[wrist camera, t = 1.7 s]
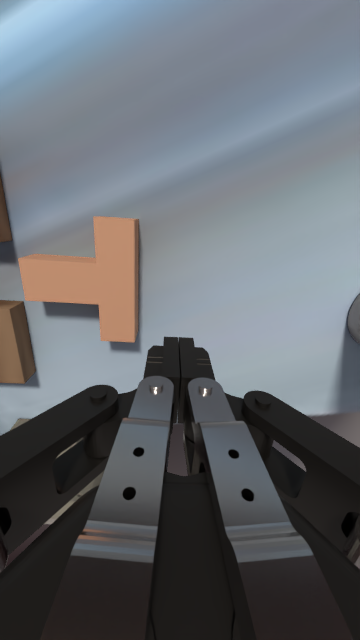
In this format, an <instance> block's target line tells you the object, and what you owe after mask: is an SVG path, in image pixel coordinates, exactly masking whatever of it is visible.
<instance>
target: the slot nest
mask: <svg viewBox="0 0 360 640" xmlns="http://www.w3.org/2000/svg"><path fill="white" fill-rule="evenodd" d="M11 240H12V236H11V230H10V225H9V219H8V214H7V208H6V203H5V197H4V192H3V186H2V181H1V175H0V242H5V241H11ZM35 371H36V369H35V363H34V358H33V352H32V347H31V341H30V336H29V330H28V325H27V319H26V314H25V308H24V302H23V301H6V300H0V383H23V384H25V383H26V381H27V380H28V379H29V378H30V377H31V376H32V375H33V374H34V373H35Z"/></svg>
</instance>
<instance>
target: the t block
mask: <svg viewBox="0 0 360 640" xmlns="http://www.w3.org/2000/svg"><path fill="white" fill-rule="evenodd" d="M93 218H94V235H95V252H96V258H90V257H74V256H59V255H43V254H33V255H29V256H26V257H22V258H18V260H19V266H20V272H21V277H22V283H23V289H24V294H25V300H27V301H45V302H63V303H81V304H99V318H100V335H101V341H117V342H135V339H136V336H137V333H138V272H139V219H129V218H115V217H93Z"/></svg>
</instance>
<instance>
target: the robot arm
mask: <svg viewBox="0 0 360 640" xmlns="http://www.w3.org/2000/svg"><path fill="white" fill-rule="evenodd" d="M348 328H349V332H350V334H351V336H352V337H353V339H354V340H355V341H356V342H358V343H359V344H360V294H359V295H358V297H357V298H356V300H355V301H354V303H353V305H352V307H351V309H350V312H349V316H348ZM177 409H178V423H184V432H183V433H184V434H183V443H184V451H185V457H186V465H187V472H188V476H179V475H175V474H172V473H168V472H167V467H168V456H169V447H170V435H171V434H172V429H173V423H176V422H177ZM81 438H83V440H81V441H80V442H78V443H77V444H76V445H74V446H73V447H71V448H70V449H69V450H67V451H66V452H64V453H63V454H62V455H60V456H59V457H57V456H58V455H59V454H60V453H62V452H63V451H64V450H66V449H67V448H69V447H70V446H71V445H73V444H74V443H76V442H77V441H78V440H80V439H81ZM273 440H275V441H276V442H278V443H279V444H280V445H282V446H283V447H285V448H286V449H287V450H288V451H290V452H291V453H292V454H294V455H295V456H297V457H298V458H299V459H300V460H301V461H302V462H303V463H304V465H305V467H306V472H305V471H304V470H303V469H301V468H300V467H299V466H297V465H296V464H294V463H293V462H292V461H291V460H289V459H288V458H287V457H285V456H284V455H283V454H282V453H280V452H279V451H278V450H276V449H275V448H274V447H272V444H273ZM104 470H105V471H104ZM103 471H104V474H103V477H102V480H101V482H100V485H98V486H96V487H94V488H93V489H91V490H89V491H88V492H86V493H85V494H84V495H82V496H81V497H80V498H79V499H77V500H76V501H75V502H74V503H73V504H72V505H71V506H70V507H69V508H68V509H67V510H66V511H65V512H64V513H63V514H62V515H61V516H59V517H58V518H57V519H56V520H55V521H54V522H53V523H52V524H51V525H50V526H49V527H48V528H47V529H46V530H45V531H44V532H43V533H42V534H41V535H40V536H38V538H36V539H35V540H34V541H33V542H32V543H31V544H30V545H29V546H28V547H27V548H26V549H25V550H24V551H23V552H22V553H21V554H20V555H19V556H18V557H16V558H15V559H14V560H13V561H12V562H11V563H10V564H9V565H8V566H7V567H6V568H5V566H6V563H7V559H8V555H9V554H10V553H12V551H14V550H15V549H16V548H17V547H18V546H19V545H21V544H22V543H23V542H24V541H25V540H26V539H27V538H28V537H30V535H32V534H33V533H34V532H35V531H36V530H37V529H39V528H40V527H41V526H42V525H43V524H44V523H45V522H47V521H48V520H49V519H50V518H51V517H52V516H53V515H54V514H56V513H57V512H58V511H59V510H60V509H61V508H62V507H63V506H65V505H66V504H67V503H68V502H69V501H70V500H71V499H72V498H74V497H75V496H76V495H77V494H78V493H79V492H80V491H82V490H83V489H84V488H85V487H86V486H87V485H88V484H89V483H91V482H92V481H93V480H94V479H95V478H96V477H97V476H98V475H100V474H101V473H102V472H103ZM0 640H360V448H359V447H357V446H355V445H354V444H352V443H350V442H349V441H347V440H345V439H344V438H342V437H340V436H339V435H337V434H336V433H334V432H332V431H330V430H329V429H327V428H326V427H324V426H322V425H320V424H319V423H317V422H316V421H314V420H312V419H311V418H309V417H307V416H306V415H304V414H302V413H301V412H299V411H297V410H296V409H294V408H293V407H291V406H289V405H288V404H286V403H284V402H283V401H281V400H279V399H278V398H276V397H274V396H273V395H271V394H269V393H266V392H263V391H250V392H248V393H246V394H245V396H244V399H242V398H238V397H235V396H231V395H229V394H226V393H225V392H224V391H223V388H222V386H221V385H220V384H219V383H218V382H216V381H215V377H214V373H213V369H212V366H211V362H210V358H209V354H208V352H207V351H206V350H205V349H204V348H198V347H194V341H193V338H182V337H179V341H178V337H164V346H152V347H151V348H150V349H149V350H148V355H147V361H146V367H145V372H144V378H143V380H142V381H141V382H140V383H139V385H138V388H137V389H135V390H133V391H131V392H127V393H122V394H118V392H117V390H116V389H115V388H113V387H111V386H108V385H96V386H92V387H89V388H87V389H85V390H83V391H82V392H80V393H78V394H76V395H74V396H73V397H71V398H69V399H67V400H65V401H63V402H62V403H60V404H58V405H56V406H54V407H52V408H51V409H49V410H47V411H45V412H43V413H42V414H40V415H38V416H36V417H34V418H32V419H31V420H29V421H27V422H25V423H23V424H21V425H20V426H18V427H16V428H14V429H12V430H11V431H9V432H7V433H5V434H3V435H1V436H0Z"/></svg>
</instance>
